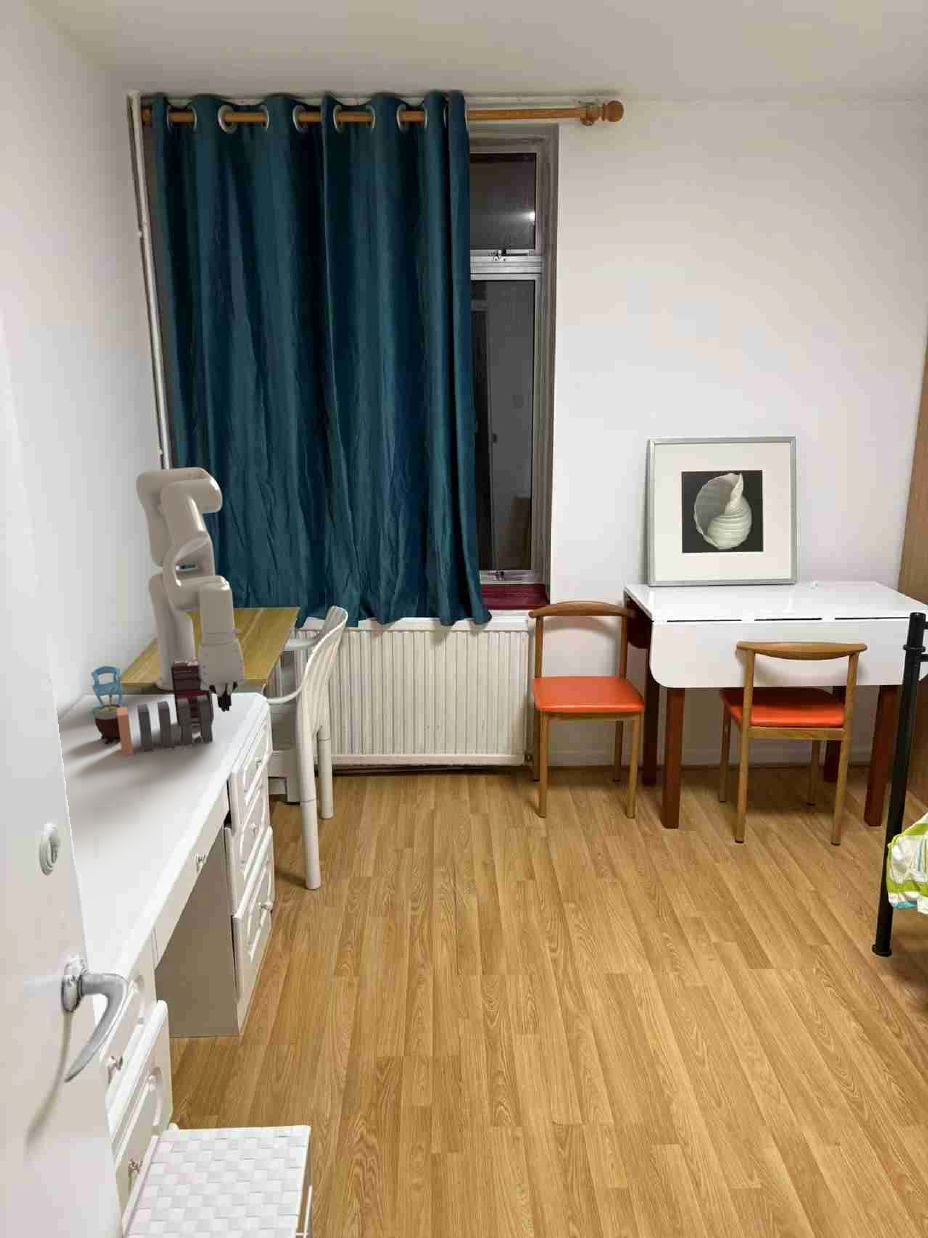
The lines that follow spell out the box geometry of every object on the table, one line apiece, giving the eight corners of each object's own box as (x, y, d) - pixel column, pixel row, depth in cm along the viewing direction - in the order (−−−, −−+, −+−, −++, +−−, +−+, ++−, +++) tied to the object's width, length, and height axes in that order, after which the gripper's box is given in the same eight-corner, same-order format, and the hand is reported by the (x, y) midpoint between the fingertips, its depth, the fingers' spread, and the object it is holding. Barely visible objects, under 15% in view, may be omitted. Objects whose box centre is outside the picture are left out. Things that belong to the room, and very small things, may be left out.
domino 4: (200, 735, 231) (196, 696, 228) (209, 733, 231) (206, 695, 229) (203, 743, 226) (199, 703, 223) (212, 741, 227) (209, 702, 224)
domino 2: (161, 741, 227) (157, 702, 224) (171, 739, 228) (166, 700, 225) (163, 749, 223) (159, 709, 220) (173, 748, 224) (169, 708, 221)
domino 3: (181, 738, 229) (177, 699, 226) (190, 736, 230) (186, 697, 227) (183, 746, 225) (179, 706, 222) (193, 744, 225) (189, 705, 222)
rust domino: (121, 748, 224) (116, 708, 221) (131, 746, 225) (126, 706, 222) (123, 756, 220) (118, 715, 217) (133, 754, 220) (128, 714, 217)
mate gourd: (108, 732, 233) (100, 674, 228) (138, 734, 231) (131, 676, 227) (90, 744, 226) (82, 685, 221) (121, 747, 224) (113, 687, 220)
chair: (98, 722, 239) (92, 677, 235) (92, 710, 246) (86, 666, 242) (130, 715, 243) (125, 671, 239) (123, 704, 250) (118, 661, 246)
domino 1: (141, 744, 226) (137, 705, 223) (151, 743, 226) (146, 703, 224) (143, 753, 221) (138, 712, 218) (153, 751, 222) (149, 711, 219)
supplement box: (214, 718, 241) (209, 658, 236) (212, 725, 236) (206, 664, 232) (179, 720, 240) (173, 660, 235) (176, 727, 235) (170, 666, 230)
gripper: (247, 627, 229) (253, 699, 235) (183, 636, 224) (190, 709, 229) (254, 636, 223) (259, 710, 228) (188, 645, 217) (195, 720, 223)
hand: (225, 709), depth 229 cm, fingers closed
